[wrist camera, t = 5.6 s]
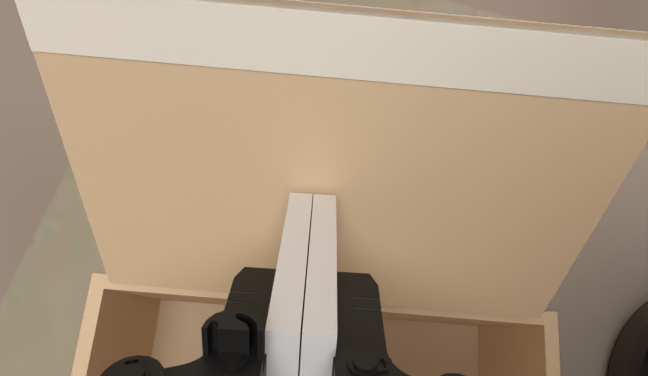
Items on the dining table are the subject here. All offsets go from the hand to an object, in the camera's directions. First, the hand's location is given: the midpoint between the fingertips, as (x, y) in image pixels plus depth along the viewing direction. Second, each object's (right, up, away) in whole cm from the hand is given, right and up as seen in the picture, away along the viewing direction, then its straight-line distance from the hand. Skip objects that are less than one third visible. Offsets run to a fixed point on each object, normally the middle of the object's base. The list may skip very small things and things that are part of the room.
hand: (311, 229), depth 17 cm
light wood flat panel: (0, -3, +4) cm, 5 cm away
